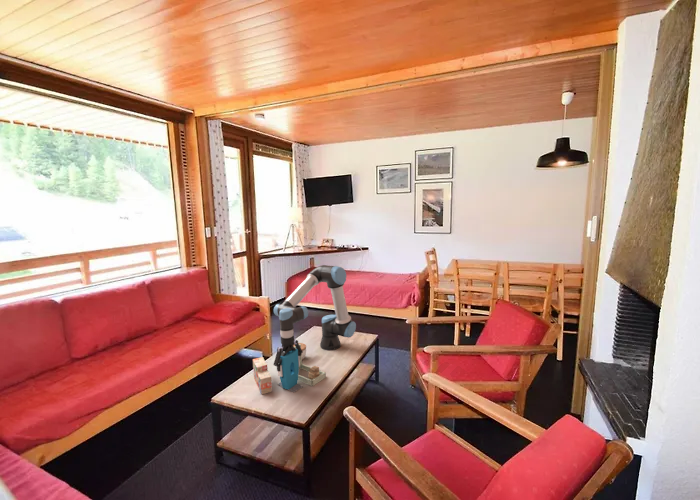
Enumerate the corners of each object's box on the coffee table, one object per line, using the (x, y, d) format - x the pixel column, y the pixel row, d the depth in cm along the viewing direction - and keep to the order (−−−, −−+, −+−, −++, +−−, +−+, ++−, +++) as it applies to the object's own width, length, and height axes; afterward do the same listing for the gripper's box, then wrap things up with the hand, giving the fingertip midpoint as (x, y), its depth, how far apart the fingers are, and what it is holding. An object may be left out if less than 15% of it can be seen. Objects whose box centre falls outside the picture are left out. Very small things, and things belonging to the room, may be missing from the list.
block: (286, 391, 181) (284, 357, 178) (279, 389, 183) (277, 355, 181) (300, 381, 191) (298, 349, 189) (293, 379, 194) (291, 347, 191)
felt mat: (286, 379, 194) (286, 379, 194) (302, 386, 186) (302, 386, 186) (277, 384, 189) (277, 384, 189) (294, 392, 180) (293, 391, 180)
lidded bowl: (284, 359, 221) (283, 343, 220) (300, 353, 229) (299, 338, 228) (294, 365, 212) (293, 349, 210) (310, 359, 220) (309, 343, 218)
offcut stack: (315, 376, 197) (314, 364, 196) (320, 378, 194) (320, 366, 193) (308, 380, 192) (307, 369, 191) (313, 383, 189) (313, 371, 188)
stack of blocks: (272, 391, 182) (271, 371, 180) (261, 395, 179) (259, 374, 178) (264, 375, 201) (262, 356, 199) (253, 377, 198) (252, 358, 196)
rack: (300, 367, 209) (299, 344, 207) (325, 377, 196) (324, 352, 194) (286, 375, 199) (285, 350, 197) (312, 386, 186) (310, 360, 184)
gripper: (298, 327, 195) (300, 360, 198) (265, 342, 176) (268, 378, 179) (307, 330, 191) (309, 363, 194) (274, 345, 171) (276, 382, 174)
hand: (289, 370), depth 186 cm, fingers open, 13 cm apart
